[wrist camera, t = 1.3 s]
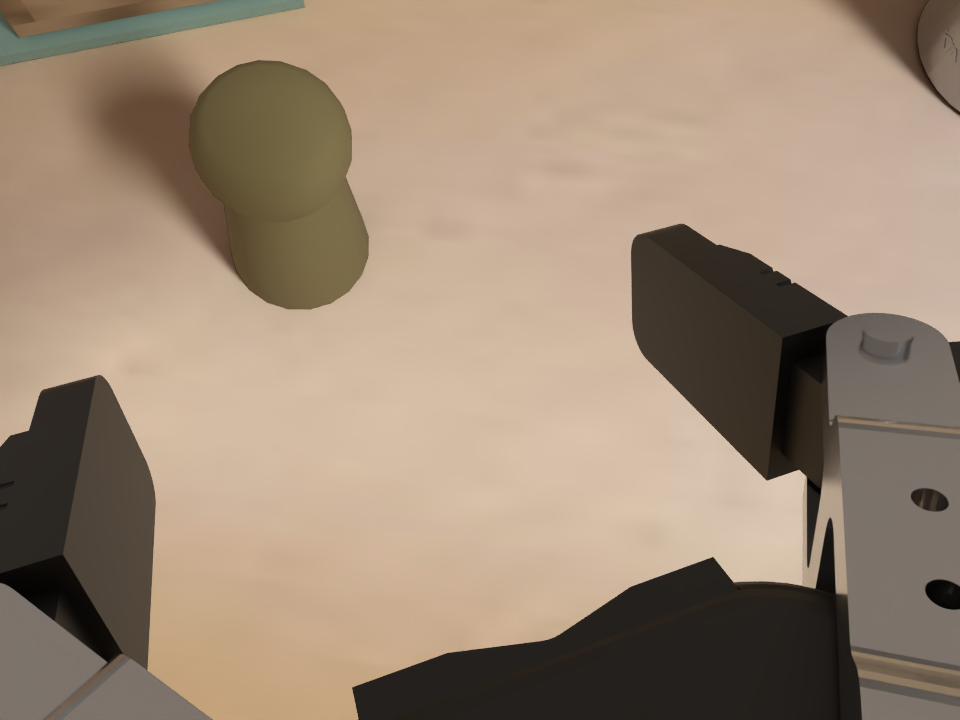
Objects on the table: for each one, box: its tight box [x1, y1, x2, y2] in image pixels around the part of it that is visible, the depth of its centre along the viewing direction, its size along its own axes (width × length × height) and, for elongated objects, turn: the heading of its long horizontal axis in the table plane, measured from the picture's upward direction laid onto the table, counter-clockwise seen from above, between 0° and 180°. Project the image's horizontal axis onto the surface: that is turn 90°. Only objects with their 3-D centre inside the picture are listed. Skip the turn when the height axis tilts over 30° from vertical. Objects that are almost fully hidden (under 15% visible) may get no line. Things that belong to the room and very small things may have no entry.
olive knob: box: [189, 60, 369, 309], centre depth 29 cm, size 6×6×11 cm
